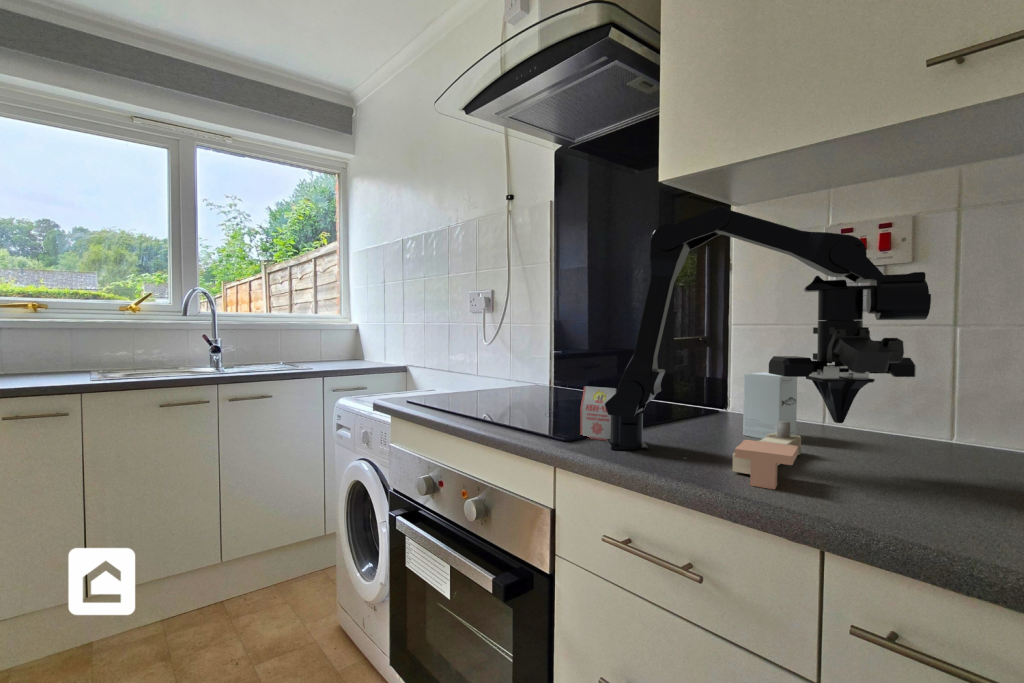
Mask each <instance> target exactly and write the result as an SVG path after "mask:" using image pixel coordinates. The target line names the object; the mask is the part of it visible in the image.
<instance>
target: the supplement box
mask: <svg viewBox="0 0 1024 683" xmlns="http://www.w3.org/2000/svg"><path fill="white" fill-rule="evenodd" d="M797 405H798V377H787V376H780V375H775V374H770V373H769V371H768V372H763V371H762V372H750V373H749V372H748V373H744V374H743V411H742V412H743V418H742V421H743V422H742V424H743V425H742V426H743V427H742V436H745V437H751V438H755V439H760V440H761V439H763V438H765V437H767V434H771V433H777V421H787V422H790V435H797V415H798V414H797V413H798V412H797V409H798V406H797Z"/></svg>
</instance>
